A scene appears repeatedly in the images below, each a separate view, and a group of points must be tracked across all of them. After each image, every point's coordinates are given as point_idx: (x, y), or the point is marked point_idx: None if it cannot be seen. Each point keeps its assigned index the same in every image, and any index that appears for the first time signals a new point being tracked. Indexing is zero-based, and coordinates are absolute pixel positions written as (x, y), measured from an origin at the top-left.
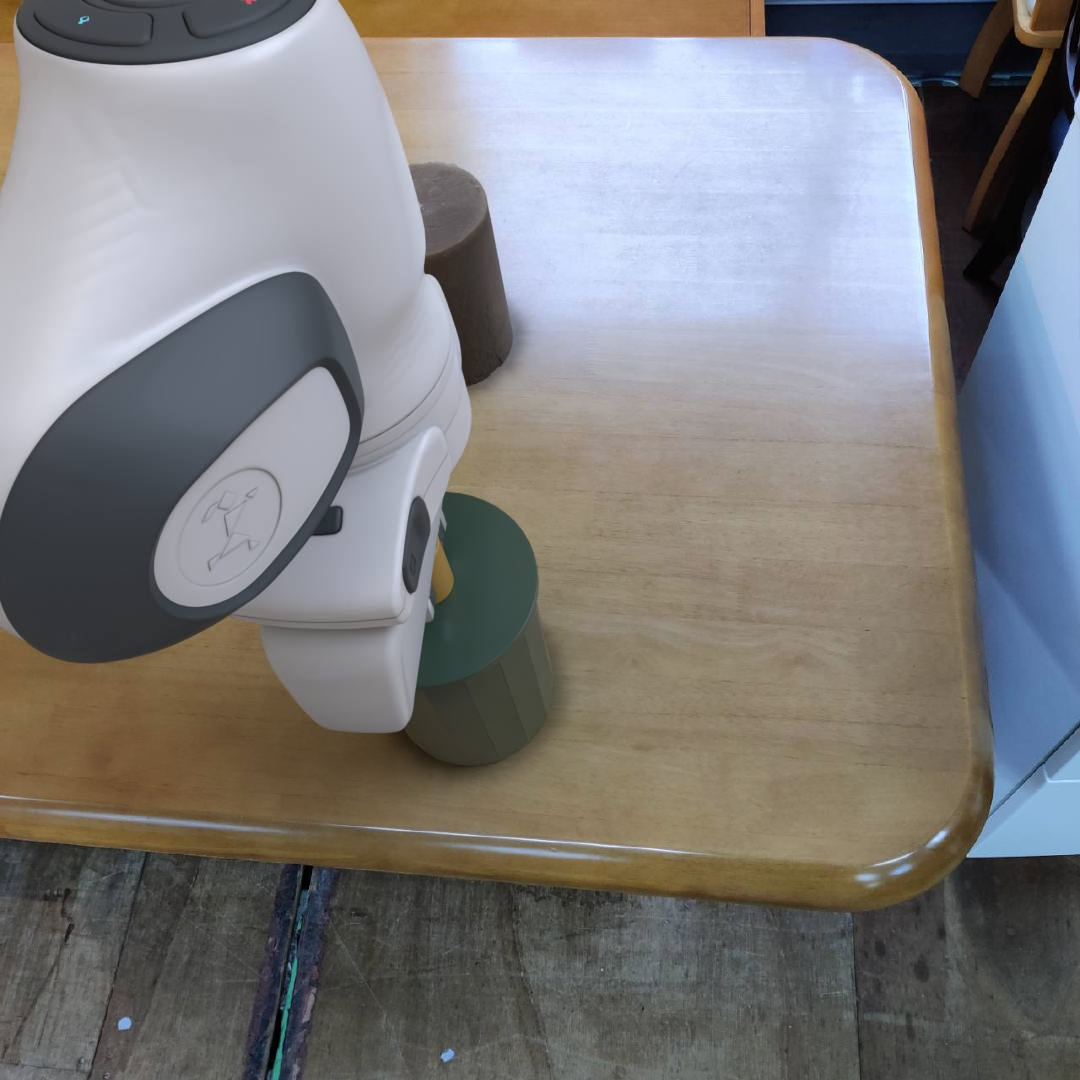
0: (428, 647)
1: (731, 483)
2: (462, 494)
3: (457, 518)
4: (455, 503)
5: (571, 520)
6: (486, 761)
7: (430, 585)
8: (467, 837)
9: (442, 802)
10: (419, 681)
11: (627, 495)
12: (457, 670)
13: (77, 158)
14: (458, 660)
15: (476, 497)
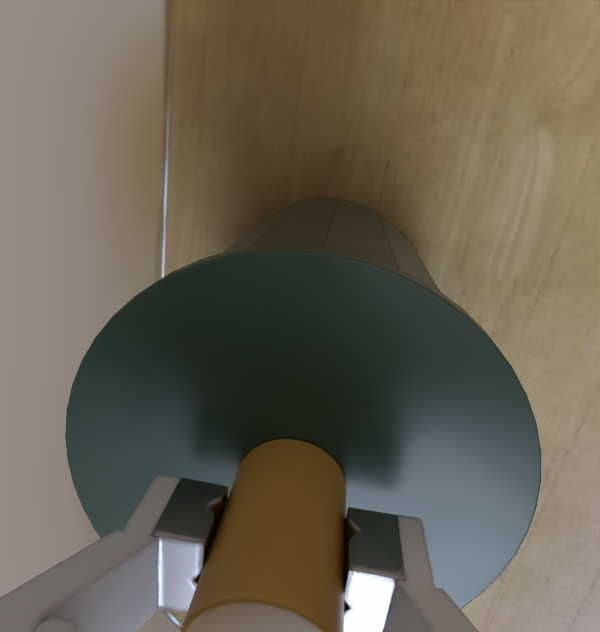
0: (145, 475)
1: (534, 571)
2: (508, 561)
3: (446, 545)
4: (488, 545)
5: (535, 417)
6: None
7: (185, 611)
8: (160, 278)
9: (195, 252)
10: (76, 454)
11: (552, 478)
12: (103, 515)
13: None
14: (121, 520)
15: (493, 580)
